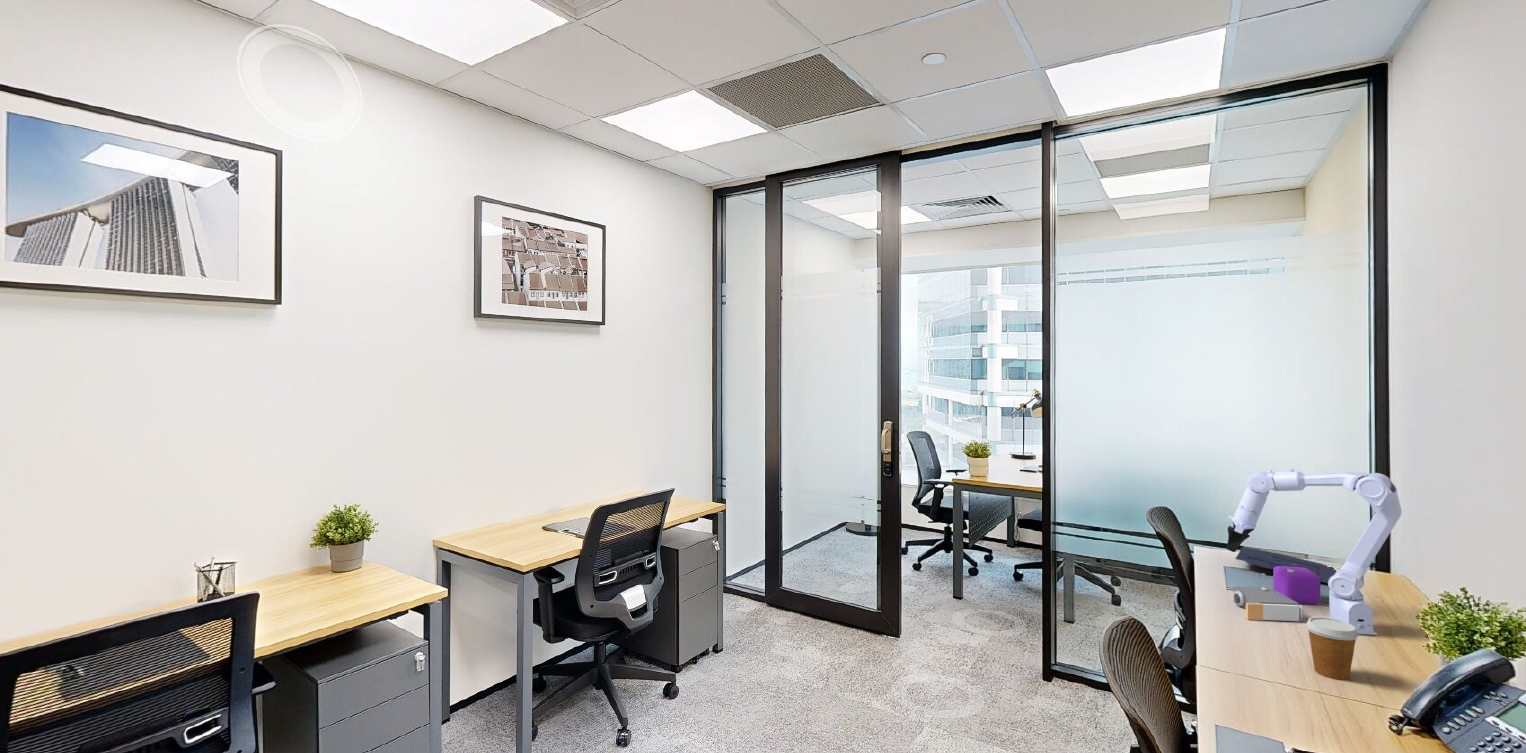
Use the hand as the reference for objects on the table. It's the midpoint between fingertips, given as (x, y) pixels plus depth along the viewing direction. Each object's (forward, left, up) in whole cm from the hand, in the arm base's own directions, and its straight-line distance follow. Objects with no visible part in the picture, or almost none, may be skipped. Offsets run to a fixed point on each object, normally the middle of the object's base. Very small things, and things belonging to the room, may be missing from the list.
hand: (1232, 547), depth 202 cm
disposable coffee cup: (-49, +3, -17) cm, 52 cm away
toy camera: (+5, -20, -17) cm, 27 cm away
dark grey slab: (+35, -36, -17) cm, 53 cm away
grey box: (-8, -5, -17) cm, 19 cm away
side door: (-15, -3, -17) cm, 23 cm away
